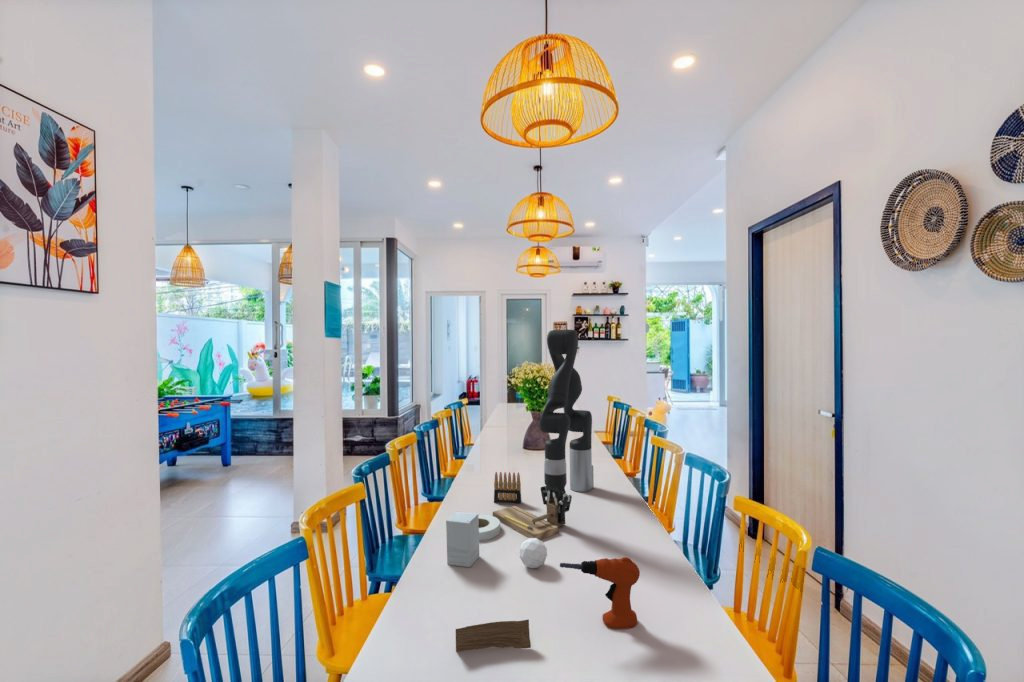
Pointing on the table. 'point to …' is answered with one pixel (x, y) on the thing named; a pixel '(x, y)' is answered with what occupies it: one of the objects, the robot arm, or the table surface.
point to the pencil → (518, 522)
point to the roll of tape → (488, 526)
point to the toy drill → (614, 587)
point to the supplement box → (462, 539)
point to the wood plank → (494, 635)
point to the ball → (533, 553)
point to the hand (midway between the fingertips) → (556, 520)
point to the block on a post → (550, 515)
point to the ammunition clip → (506, 494)
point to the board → (539, 528)
